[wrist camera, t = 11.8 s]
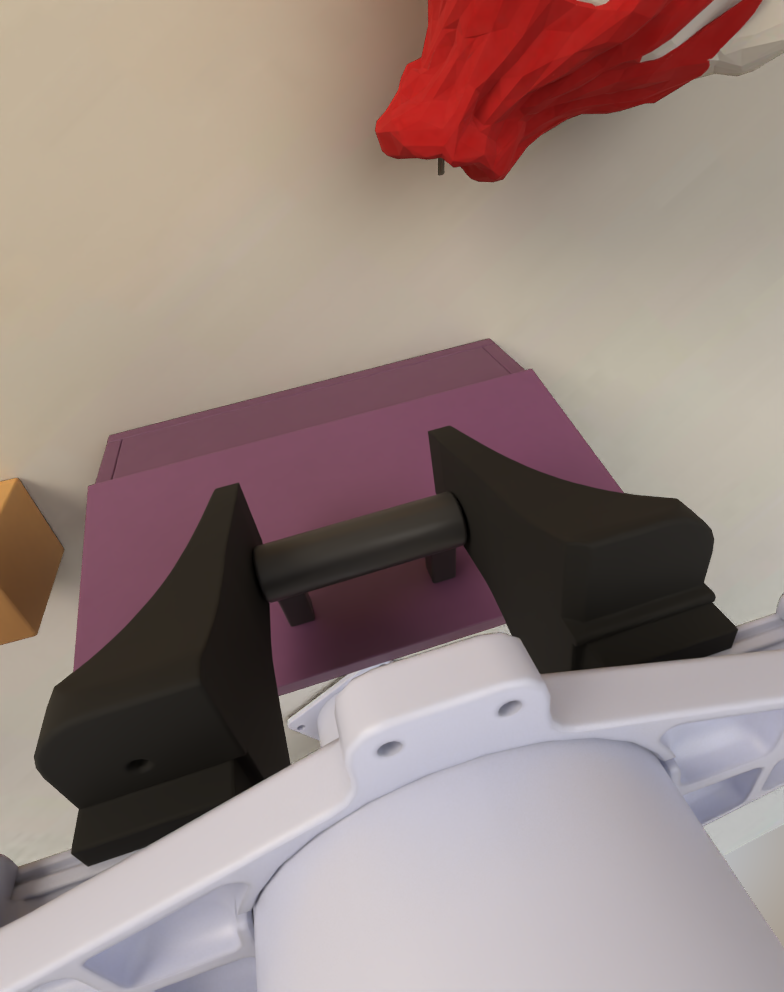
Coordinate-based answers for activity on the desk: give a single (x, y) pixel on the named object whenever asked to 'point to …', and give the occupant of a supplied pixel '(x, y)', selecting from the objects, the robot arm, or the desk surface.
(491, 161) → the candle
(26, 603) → the block
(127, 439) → the box
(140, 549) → the lid
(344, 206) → the desk surface
